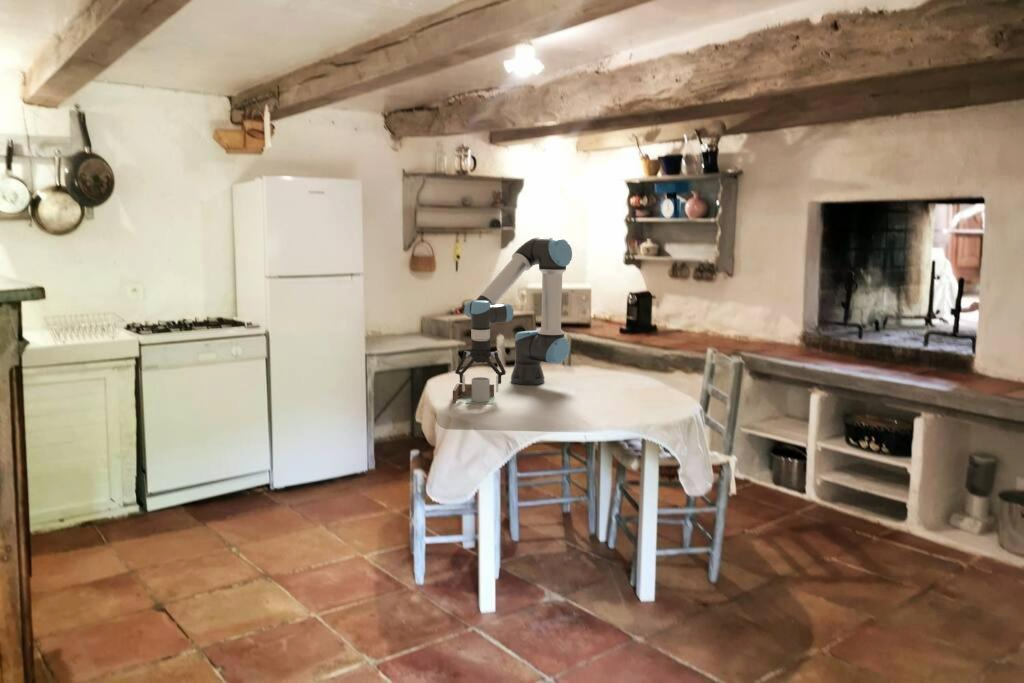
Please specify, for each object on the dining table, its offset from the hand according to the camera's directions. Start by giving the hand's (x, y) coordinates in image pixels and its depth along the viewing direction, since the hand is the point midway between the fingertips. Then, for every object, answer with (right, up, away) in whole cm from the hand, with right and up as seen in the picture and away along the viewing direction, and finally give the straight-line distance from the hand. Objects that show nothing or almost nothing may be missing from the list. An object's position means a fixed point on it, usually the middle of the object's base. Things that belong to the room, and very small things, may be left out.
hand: (480, 391), depth 321 cm
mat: (0, -4, +1) cm, 4 cm away
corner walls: (-3, -3, +2) cm, 5 cm away
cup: (0, -4, +1) cm, 4 cm away
